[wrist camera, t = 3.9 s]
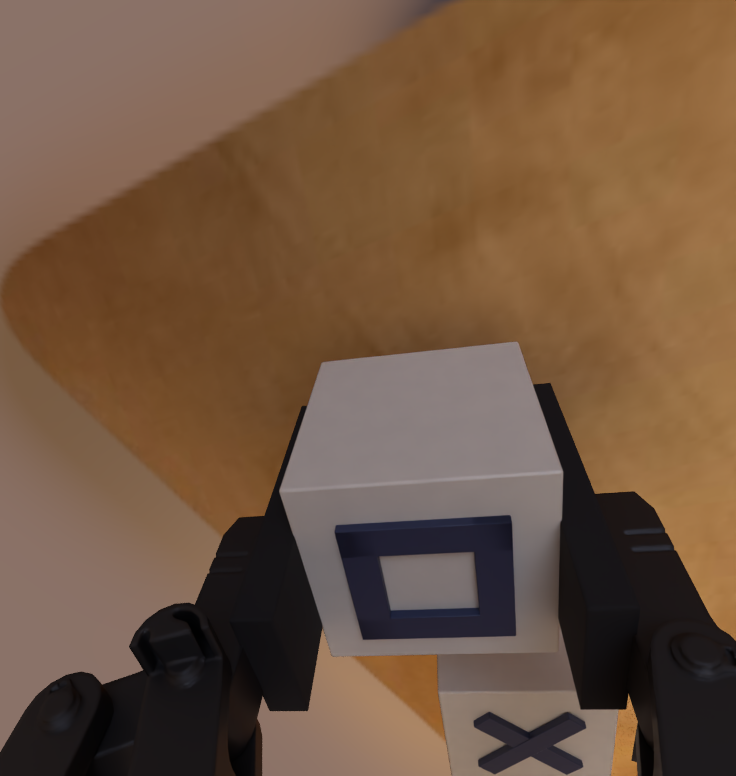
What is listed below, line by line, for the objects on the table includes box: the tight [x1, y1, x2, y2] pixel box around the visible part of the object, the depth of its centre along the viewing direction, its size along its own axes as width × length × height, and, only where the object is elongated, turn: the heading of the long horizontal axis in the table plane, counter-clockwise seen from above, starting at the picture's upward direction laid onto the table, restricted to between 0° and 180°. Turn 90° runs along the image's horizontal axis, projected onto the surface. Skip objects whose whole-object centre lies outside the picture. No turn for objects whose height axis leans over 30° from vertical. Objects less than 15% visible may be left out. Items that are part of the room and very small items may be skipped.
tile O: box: [279, 342, 563, 657], centre depth 13 cm, size 5×5×5 cm
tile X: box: [437, 624, 619, 776], centre depth 18 cm, size 5×5×5 cm
